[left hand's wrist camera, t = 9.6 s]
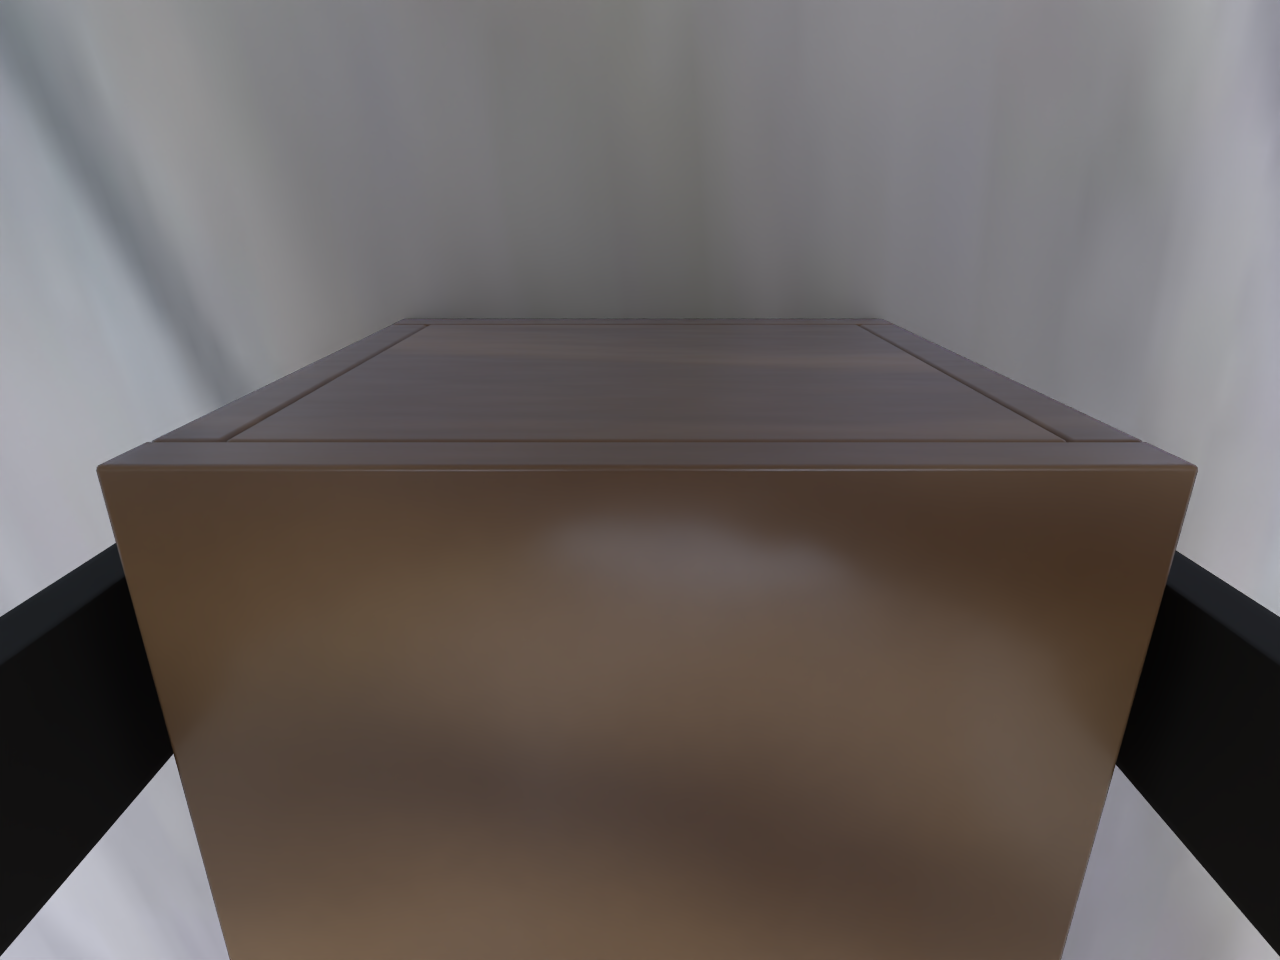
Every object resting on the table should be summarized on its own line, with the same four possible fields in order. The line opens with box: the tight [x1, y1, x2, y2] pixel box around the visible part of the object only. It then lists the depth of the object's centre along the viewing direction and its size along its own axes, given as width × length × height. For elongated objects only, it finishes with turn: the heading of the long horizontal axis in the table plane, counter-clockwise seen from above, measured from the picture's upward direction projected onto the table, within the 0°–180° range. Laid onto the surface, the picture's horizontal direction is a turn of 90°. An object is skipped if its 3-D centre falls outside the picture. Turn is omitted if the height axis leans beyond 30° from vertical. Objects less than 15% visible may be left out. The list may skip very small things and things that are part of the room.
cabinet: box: [97, 319, 1198, 960], centre depth 16 cm, size 21×11×10 cm, turn 0°
